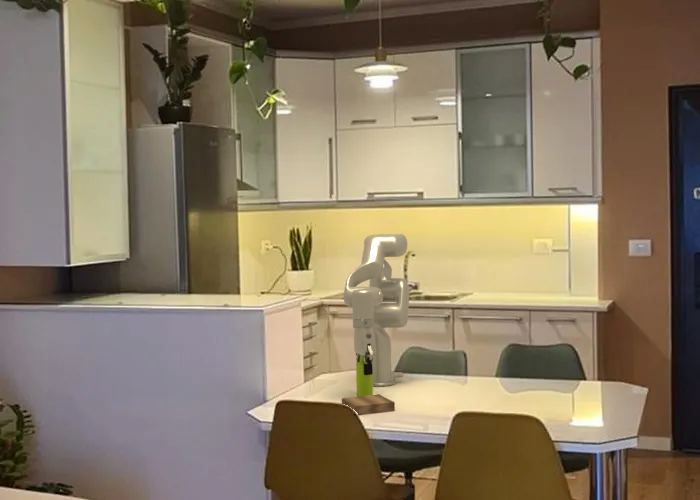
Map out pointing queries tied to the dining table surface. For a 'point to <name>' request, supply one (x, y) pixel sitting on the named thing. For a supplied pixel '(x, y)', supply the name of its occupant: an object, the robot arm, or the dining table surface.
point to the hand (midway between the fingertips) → (364, 372)
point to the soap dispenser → (363, 379)
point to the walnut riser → (369, 404)
